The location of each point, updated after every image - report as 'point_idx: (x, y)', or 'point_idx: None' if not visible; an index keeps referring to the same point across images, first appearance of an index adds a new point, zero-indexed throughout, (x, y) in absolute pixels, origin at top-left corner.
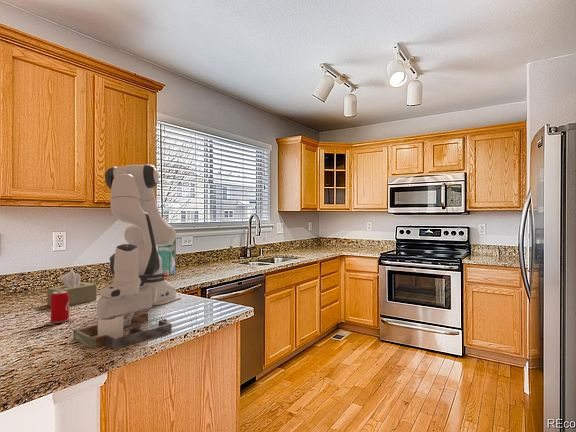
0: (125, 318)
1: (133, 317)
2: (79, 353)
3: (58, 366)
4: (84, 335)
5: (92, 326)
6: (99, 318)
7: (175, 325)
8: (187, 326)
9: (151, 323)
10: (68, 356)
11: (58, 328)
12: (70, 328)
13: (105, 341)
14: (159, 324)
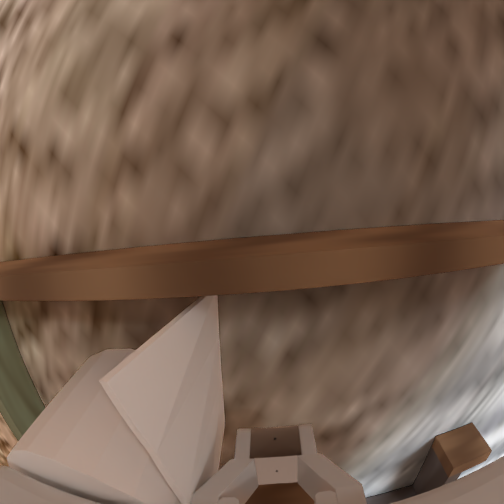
0: (378, 273)
1: (458, 268)
2: None
3: (4, 458)
4: (2, 415)
5: (14, 294)
6: (12, 459)
7: (496, 426)
8: (494, 453)
9: (491, 326)
10: (6, 433)
11: (3, 5)
12: (24, 26)
13: None
14: (442, 460)
